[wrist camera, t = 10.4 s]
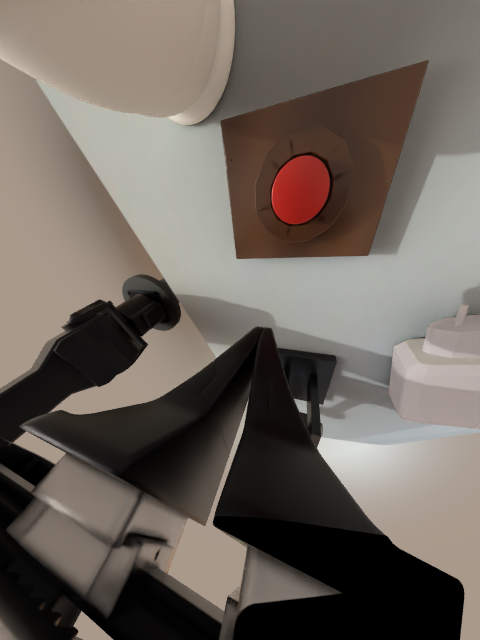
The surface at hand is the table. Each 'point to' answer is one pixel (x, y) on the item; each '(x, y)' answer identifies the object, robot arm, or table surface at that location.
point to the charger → (440, 373)
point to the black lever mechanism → (309, 383)
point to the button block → (333, 150)
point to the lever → (304, 418)
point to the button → (300, 189)
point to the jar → (125, 52)
